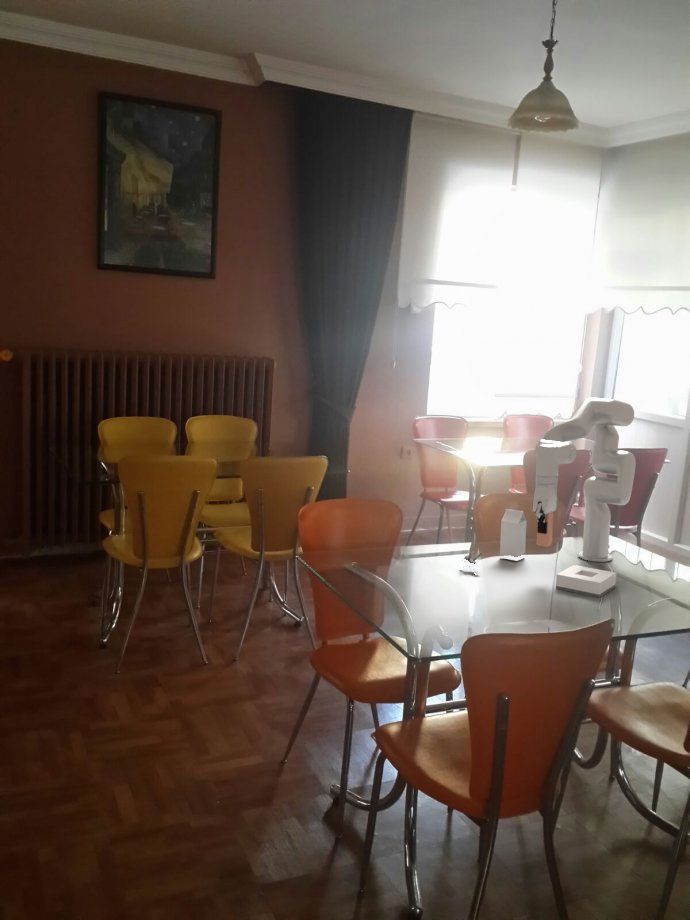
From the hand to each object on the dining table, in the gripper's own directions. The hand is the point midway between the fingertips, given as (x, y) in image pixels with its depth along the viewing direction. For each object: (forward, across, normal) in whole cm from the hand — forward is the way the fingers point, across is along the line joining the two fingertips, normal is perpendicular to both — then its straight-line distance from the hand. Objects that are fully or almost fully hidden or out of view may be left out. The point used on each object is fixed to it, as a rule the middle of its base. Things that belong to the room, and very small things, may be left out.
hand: (544, 531), depth 288 cm
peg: (+5, 0, 0) cm, 5 cm away
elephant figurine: (+17, +9, -23) cm, 30 cm away
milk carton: (+18, -17, -20) cm, 31 cm away
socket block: (+17, +1, +16) cm, 23 cm away
